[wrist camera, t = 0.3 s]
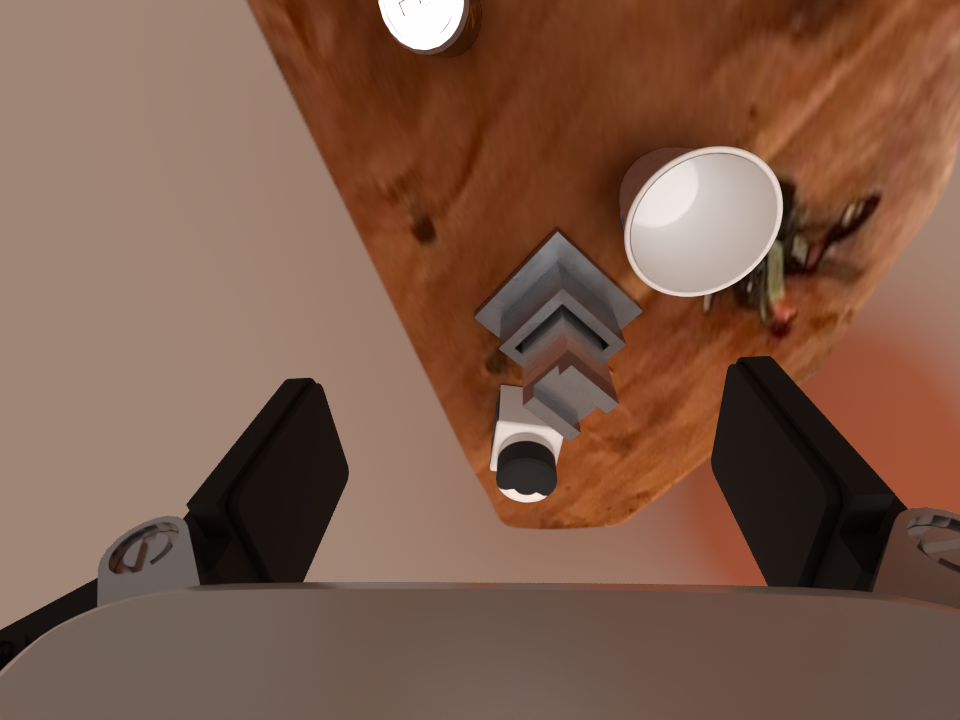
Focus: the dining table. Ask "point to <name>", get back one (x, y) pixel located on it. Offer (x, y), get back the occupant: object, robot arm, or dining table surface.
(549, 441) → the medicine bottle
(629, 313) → the base
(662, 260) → the coffee cup
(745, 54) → the dining table surface
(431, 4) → the beer can
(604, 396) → the jack column
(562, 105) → the dining table surface
